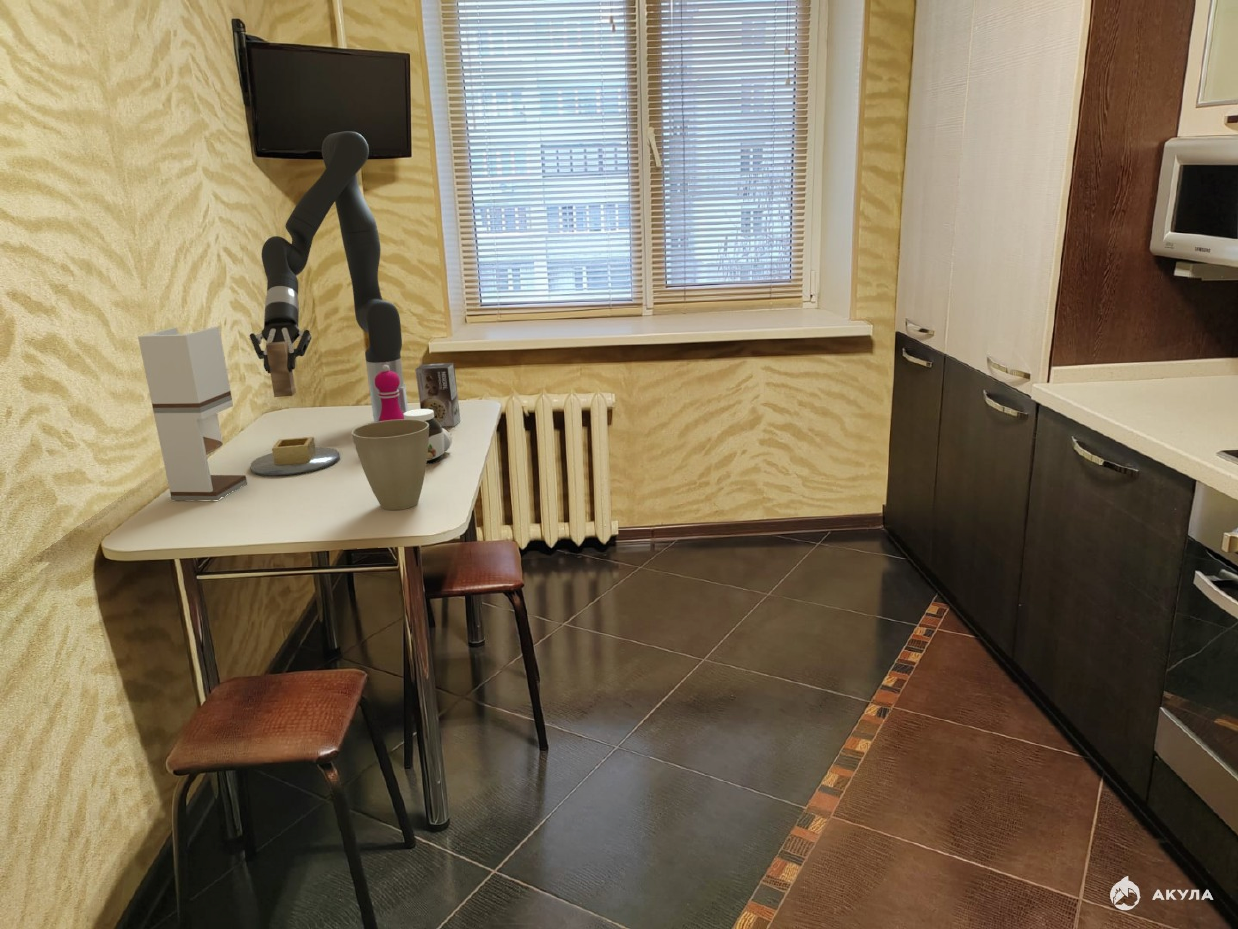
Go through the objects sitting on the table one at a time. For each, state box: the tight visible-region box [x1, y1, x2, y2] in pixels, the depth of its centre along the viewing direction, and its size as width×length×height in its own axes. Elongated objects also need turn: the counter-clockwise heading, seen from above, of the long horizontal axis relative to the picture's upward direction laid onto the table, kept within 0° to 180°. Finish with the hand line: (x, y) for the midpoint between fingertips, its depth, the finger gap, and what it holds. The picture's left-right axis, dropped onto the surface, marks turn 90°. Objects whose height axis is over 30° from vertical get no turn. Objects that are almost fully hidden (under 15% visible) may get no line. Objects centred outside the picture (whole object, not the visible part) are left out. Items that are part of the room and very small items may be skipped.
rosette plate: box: [250, 436, 341, 478], centre depth 214 cm, size 20×20×5 cm
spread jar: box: [404, 408, 453, 465], centre depth 212 cm, size 12×11×12 cm
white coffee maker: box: [137, 326, 248, 501], centre depth 191 cm, size 11×11×35 cm
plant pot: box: [351, 419, 429, 511], centre depth 181 cm, size 15×15×16 cm
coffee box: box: [414, 362, 461, 428], centre depth 242 cm, size 9×6×16 cm
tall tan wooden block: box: [265, 341, 297, 398], centre depth 208 cm, size 4×4×12 cm
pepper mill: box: [375, 365, 404, 422], centre depth 225 cm, size 7×7×20 cm
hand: (279, 370), depth 206 cm, fingers closed on tall tan wooden block, 4 cm apart
